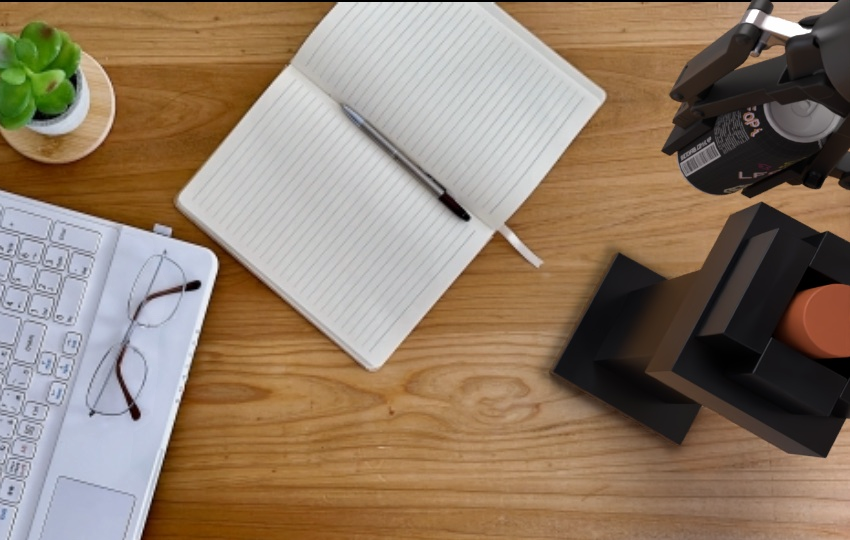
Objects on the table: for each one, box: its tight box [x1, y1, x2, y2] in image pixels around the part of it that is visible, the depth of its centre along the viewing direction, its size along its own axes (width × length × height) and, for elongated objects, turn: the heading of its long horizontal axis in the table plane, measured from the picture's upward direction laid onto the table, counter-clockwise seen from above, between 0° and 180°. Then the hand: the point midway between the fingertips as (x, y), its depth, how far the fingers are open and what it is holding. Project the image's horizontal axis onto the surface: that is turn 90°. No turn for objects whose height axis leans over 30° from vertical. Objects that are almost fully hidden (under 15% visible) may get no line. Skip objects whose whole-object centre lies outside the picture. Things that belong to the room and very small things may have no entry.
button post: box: [548, 200, 850, 459], centre depth 61 cm, size 12×12×26 cm
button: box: [773, 284, 850, 359], centre depth 48 cm, size 4×4×3 cm
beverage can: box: [676, 100, 841, 197], centre depth 57 cm, size 6×6×12 cm
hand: (713, 159), depth 63 cm, fingers closed on beverage can, 6 cm apart
